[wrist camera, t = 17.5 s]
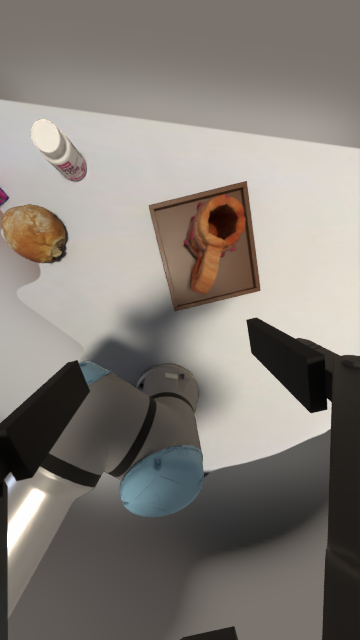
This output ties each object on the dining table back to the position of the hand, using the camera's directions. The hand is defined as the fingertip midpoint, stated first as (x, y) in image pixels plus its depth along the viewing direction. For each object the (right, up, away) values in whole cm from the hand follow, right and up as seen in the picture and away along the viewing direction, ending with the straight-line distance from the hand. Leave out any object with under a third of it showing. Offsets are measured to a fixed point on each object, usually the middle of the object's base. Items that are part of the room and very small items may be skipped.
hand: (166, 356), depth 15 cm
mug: (+5, +17, +25) cm, 31 cm away
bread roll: (-26, +19, +24) cm, 40 cm away
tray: (+7, +17, +26) cm, 31 cm away
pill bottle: (-18, +31, +21) cm, 42 cm away
